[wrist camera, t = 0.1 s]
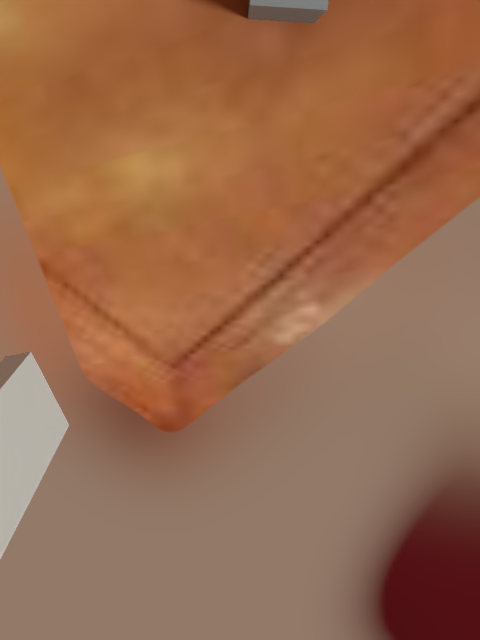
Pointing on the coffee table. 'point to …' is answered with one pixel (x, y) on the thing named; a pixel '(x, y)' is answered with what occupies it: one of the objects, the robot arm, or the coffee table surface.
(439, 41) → the coffee table surface
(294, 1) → the cube slate
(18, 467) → the robot arm
